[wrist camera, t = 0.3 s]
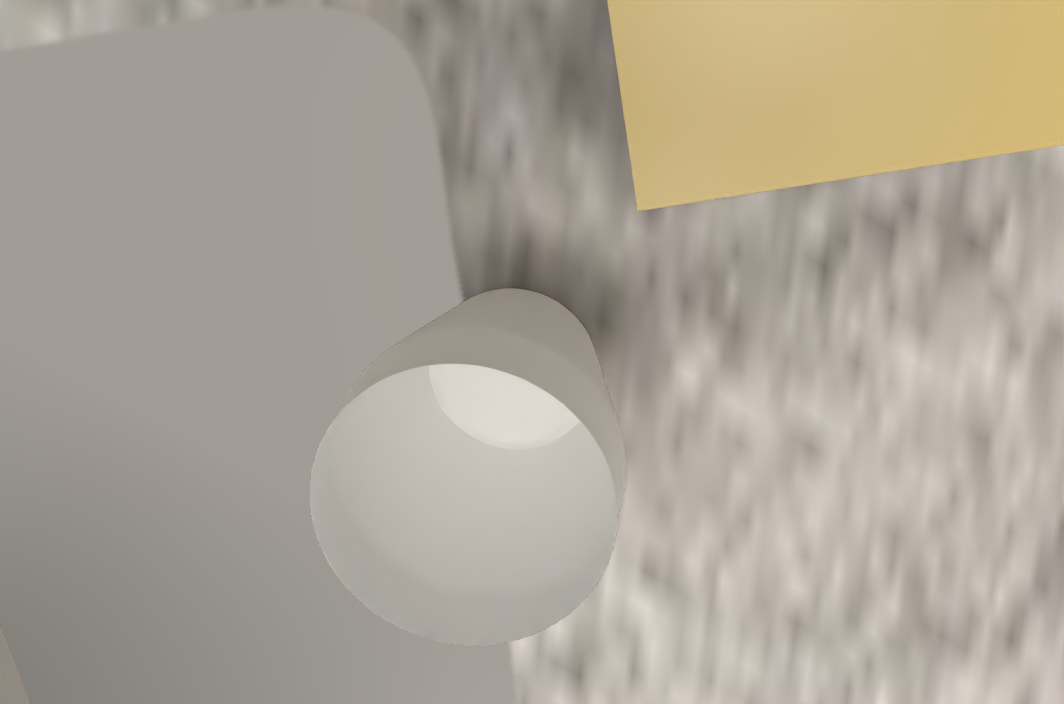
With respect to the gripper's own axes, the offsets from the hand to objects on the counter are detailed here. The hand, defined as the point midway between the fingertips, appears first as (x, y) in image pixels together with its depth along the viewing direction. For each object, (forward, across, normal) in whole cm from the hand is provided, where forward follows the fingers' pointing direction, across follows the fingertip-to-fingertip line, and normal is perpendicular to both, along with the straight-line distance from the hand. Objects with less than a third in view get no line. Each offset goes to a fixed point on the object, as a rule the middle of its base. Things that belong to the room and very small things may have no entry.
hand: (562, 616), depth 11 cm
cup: (+27, -5, -6) cm, 29 cm away
